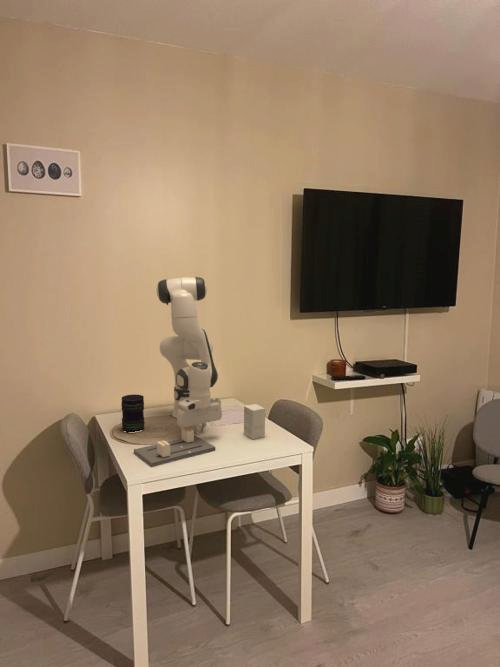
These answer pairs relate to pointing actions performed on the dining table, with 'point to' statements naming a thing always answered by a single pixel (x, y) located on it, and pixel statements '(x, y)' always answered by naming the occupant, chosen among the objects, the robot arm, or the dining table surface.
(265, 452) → the dining table surface
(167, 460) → the console
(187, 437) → the fader
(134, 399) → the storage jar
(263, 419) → the small box
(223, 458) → the dining table surface
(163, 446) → the fader
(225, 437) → the dining table surface
